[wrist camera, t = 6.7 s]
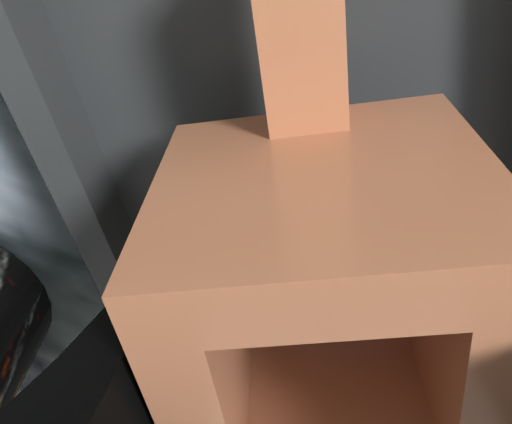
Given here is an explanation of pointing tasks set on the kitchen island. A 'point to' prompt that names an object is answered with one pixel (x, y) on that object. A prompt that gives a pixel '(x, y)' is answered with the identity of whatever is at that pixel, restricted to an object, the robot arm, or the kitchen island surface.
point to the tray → (212, 87)
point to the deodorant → (19, 322)
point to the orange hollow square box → (321, 254)
